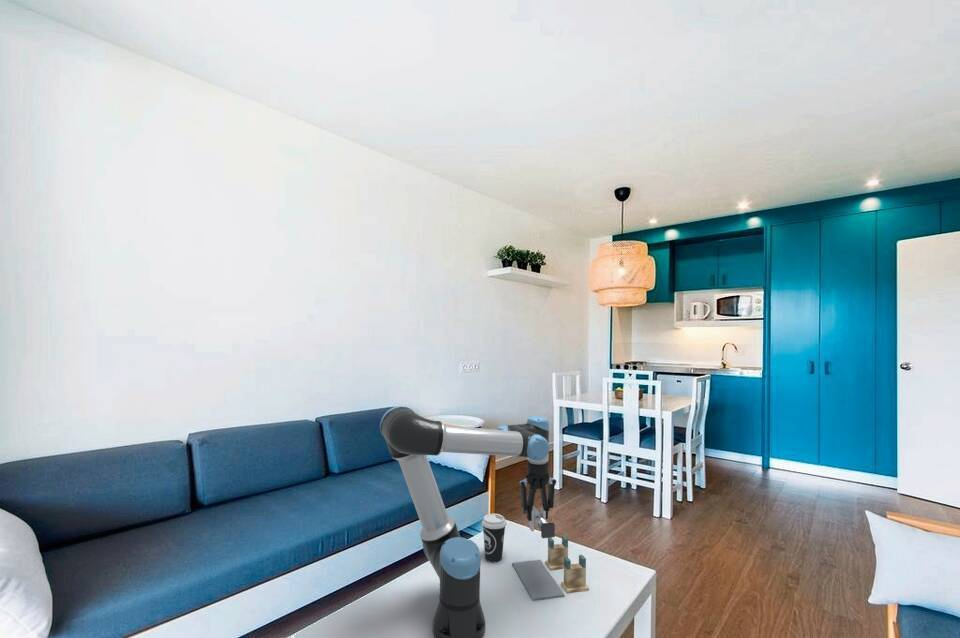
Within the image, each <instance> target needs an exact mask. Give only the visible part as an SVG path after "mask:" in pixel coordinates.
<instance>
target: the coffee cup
mask: <svg viewBox="0 0 960 638" xmlns="http://www.w3.org/2000/svg"><path fill="white" fill-rule="evenodd" d="M481 525H482V528H483V531H482V532H483V544H484V545H483V546H484V547H483V548H484V559H485V561H487V562H491V563H498V562H500V561H502V559H503V551H504V541H505V531H506V526H507V520H506V518H505V517H504V515H501V514H499V513H488V514H485V515H484V516H483V519H482V520H481Z"/></svg>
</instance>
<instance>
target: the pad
mask: <svg viewBox="0 0 960 638" xmlns="http://www.w3.org/2000/svg"><path fill="white" fill-rule="evenodd" d="M511 565H512V567H513V568H514V571H515V572H516V574H517V575H518V578H519V579H520V581H521V583H522V584H523V586H524V588H525V590H526V592H527V594H529V597H530V598H531V600H532V601H533V602H534V601H542V600H550V599H555V598H563V597H566V596H565V593H564V592H563V590H562V588H561V586H560V585H558V583H557V582H556V580H555V579H554V578H553V576H552V574H551V573H550V571H548V569H547V567H546V566H545V565H544V564H543V562H542V561H541V559H535V560H526V561H517V562H516V561H515V562H512V563H511Z"/></svg>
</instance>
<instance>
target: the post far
mask: <svg viewBox="0 0 960 638" xmlns="http://www.w3.org/2000/svg"><path fill="white" fill-rule="evenodd" d="M564 557H568V558H569V539H568V538H567V537H566V536H565V535H563V536H561V543H556V544H555V540H554V539H553V537H551V538H547V560H544V564H545V565H546V566H547V568H548V569H549V570H550V571H556V570H564Z"/></svg>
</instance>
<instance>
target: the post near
mask: <svg viewBox="0 0 960 638" xmlns="http://www.w3.org/2000/svg"><path fill="white" fill-rule="evenodd" d="M571 562H572V560H571V559H570V558H569V556H568V557H564V569H563V581H560V585H561V586H560V587H562V588H563V590H564V592H565V593H566V594H570V593H572V594H573V593H579V592H580V593H581V592H586V591H589V590H590V587H589V586H588V585H587V580H586V579H587V558H586V557H585V556H584V555H583V554H579V555H578V563H571Z"/></svg>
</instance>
